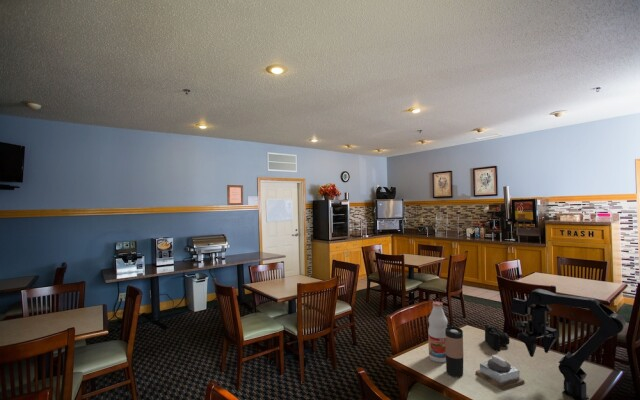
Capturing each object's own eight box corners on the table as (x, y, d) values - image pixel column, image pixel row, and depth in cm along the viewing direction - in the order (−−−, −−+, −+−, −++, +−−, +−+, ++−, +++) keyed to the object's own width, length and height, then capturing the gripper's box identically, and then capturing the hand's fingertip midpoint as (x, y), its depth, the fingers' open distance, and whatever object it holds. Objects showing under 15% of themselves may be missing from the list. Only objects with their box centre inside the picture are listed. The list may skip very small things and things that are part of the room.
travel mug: (448, 367, 156) (448, 325, 156) (465, 372, 151) (465, 329, 151) (443, 374, 150) (442, 330, 150) (460, 379, 145) (460, 334, 145)
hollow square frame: (519, 379, 142) (519, 369, 142) (501, 384, 138) (501, 375, 138) (497, 367, 153) (497, 358, 153) (479, 372, 149) (479, 363, 149)
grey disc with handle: (515, 376, 143) (515, 360, 143) (500, 380, 140) (500, 364, 140) (497, 366, 151) (497, 351, 151) (483, 370, 148) (483, 355, 148)
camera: (514, 352, 169) (513, 333, 169) (492, 351, 171) (491, 332, 171) (503, 340, 183) (503, 322, 183) (483, 339, 185) (482, 322, 185)
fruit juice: (445, 354, 169) (444, 300, 169) (451, 363, 159) (450, 306, 159) (426, 353, 169) (425, 300, 169) (431, 363, 160) (430, 306, 160)
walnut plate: (524, 383, 141) (524, 380, 141) (502, 390, 137) (502, 387, 137) (496, 367, 154) (496, 365, 154) (475, 373, 150) (475, 371, 150)
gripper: (535, 309, 153) (535, 343, 153) (506, 315, 146) (506, 350, 146) (560, 317, 142) (560, 353, 142) (530, 324, 136) (530, 362, 136)
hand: (538, 354), depth 142 cm, fingers open, 9 cm apart
